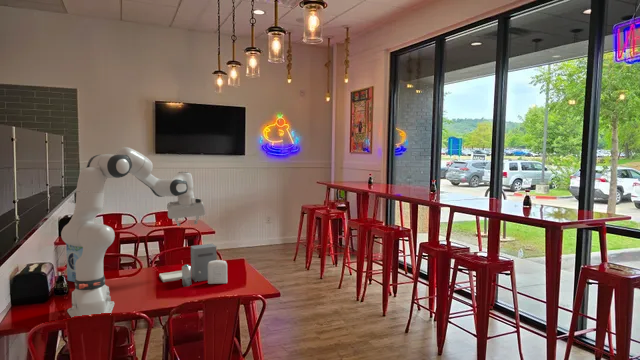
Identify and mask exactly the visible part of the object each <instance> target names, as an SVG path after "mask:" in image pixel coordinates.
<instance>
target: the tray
mask: <svg viewBox="0 0 640 360" xmlns="http://www.w3.org/2000/svg"><path fill="white" fill-rule="evenodd" d="M158 276H159V279H160V280H161V281H162V283H167V282H175V281H180V279H182V270H175V271H170V272H163V273H159V275H158Z"/></svg>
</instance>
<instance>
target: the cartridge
mask: <svg viewBox="0 0 640 360" xmlns="http://www.w3.org/2000/svg"><path fill="white" fill-rule="evenodd" d="M181 271H182V281H181V282H182V283H181V284H182V285H183V286H182V285H181V286H182V287H190V285H191V286H192V275H191V264H184V265H182V266H181Z"/></svg>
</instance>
